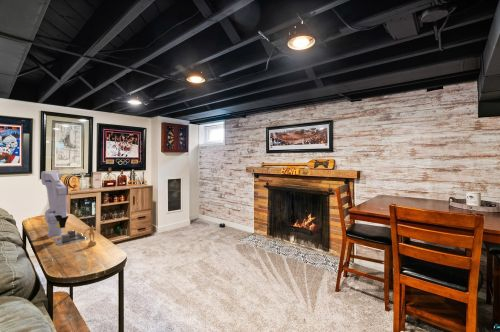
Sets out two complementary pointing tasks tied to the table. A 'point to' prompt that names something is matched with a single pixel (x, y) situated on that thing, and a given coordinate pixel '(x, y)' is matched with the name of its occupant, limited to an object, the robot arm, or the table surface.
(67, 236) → the block
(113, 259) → the table surface
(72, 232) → the breaker
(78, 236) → the panel
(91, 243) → the figurine
